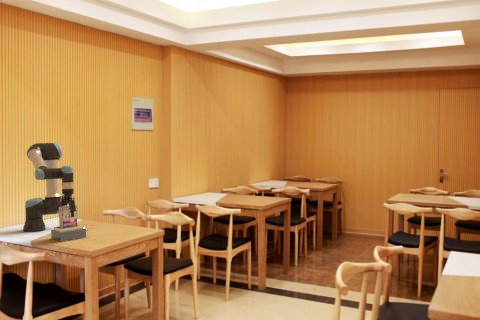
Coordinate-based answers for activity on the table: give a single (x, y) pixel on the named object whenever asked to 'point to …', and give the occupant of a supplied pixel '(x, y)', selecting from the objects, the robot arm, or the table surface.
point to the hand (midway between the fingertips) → (68, 220)
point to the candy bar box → (66, 217)
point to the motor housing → (68, 233)
